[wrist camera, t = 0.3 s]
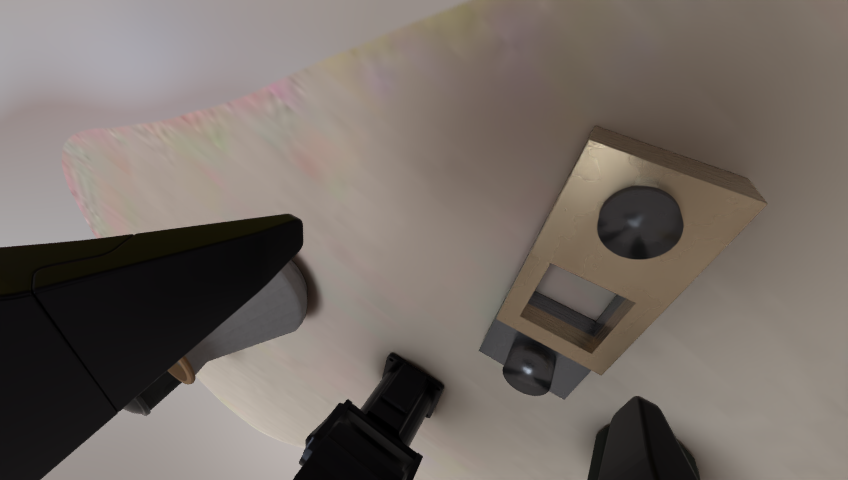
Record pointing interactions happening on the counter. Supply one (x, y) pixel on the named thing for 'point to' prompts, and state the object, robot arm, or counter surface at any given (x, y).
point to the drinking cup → (153, 394)
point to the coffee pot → (251, 322)
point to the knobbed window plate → (615, 257)
